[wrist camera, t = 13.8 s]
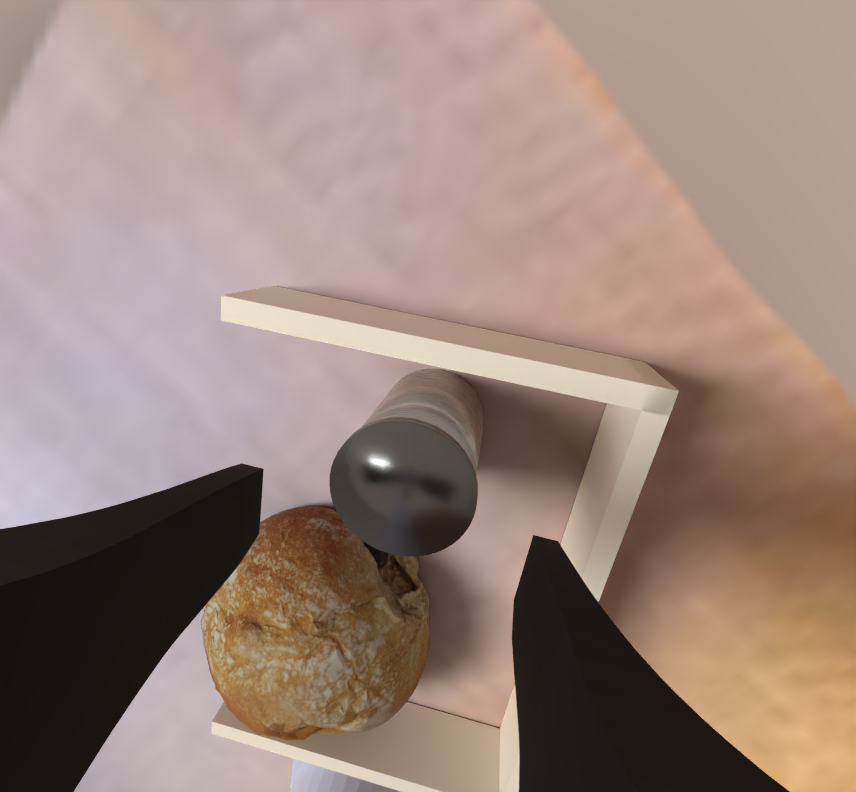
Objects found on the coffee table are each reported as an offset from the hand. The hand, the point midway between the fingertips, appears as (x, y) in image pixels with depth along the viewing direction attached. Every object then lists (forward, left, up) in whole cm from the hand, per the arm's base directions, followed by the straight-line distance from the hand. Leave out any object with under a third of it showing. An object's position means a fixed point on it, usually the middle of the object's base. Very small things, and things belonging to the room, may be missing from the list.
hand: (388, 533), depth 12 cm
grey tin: (+1, 0, -7) cm, 7 cm away
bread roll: (-10, +3, -8) cm, 13 cm away
